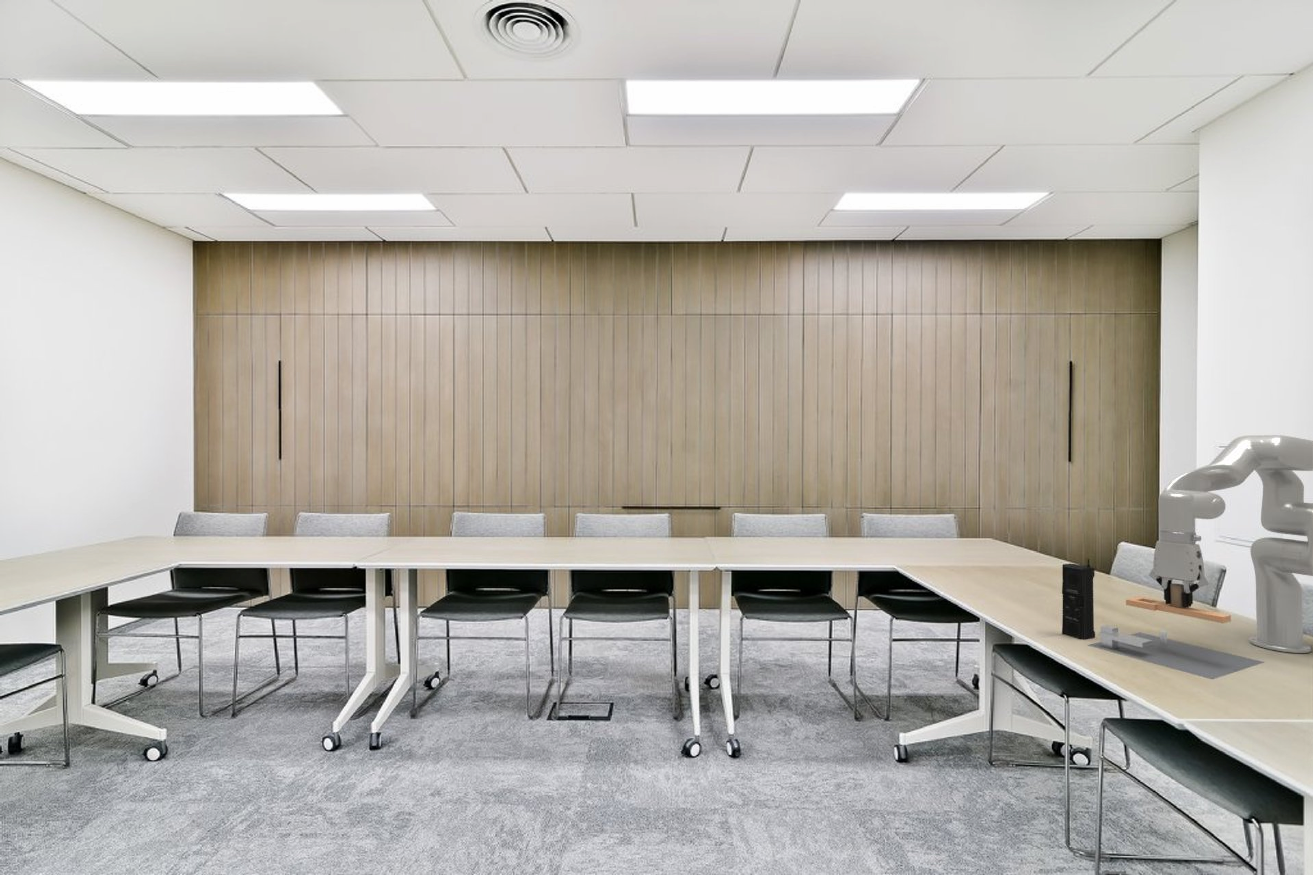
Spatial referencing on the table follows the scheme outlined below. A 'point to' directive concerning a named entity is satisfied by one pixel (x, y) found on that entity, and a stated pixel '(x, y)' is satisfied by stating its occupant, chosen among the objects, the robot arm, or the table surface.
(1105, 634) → the keeper
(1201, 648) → the pintle board
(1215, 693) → the table surface
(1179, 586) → the link
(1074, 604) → the portable radio
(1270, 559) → the robot arm
